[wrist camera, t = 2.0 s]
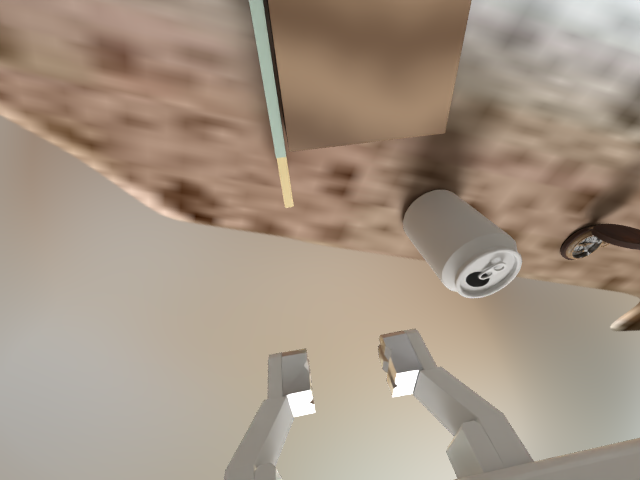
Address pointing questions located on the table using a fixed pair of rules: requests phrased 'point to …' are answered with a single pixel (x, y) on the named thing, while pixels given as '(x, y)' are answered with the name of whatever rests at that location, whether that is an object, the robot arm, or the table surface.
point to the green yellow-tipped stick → (271, 95)
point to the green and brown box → (365, 68)
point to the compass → (599, 240)
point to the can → (461, 244)
